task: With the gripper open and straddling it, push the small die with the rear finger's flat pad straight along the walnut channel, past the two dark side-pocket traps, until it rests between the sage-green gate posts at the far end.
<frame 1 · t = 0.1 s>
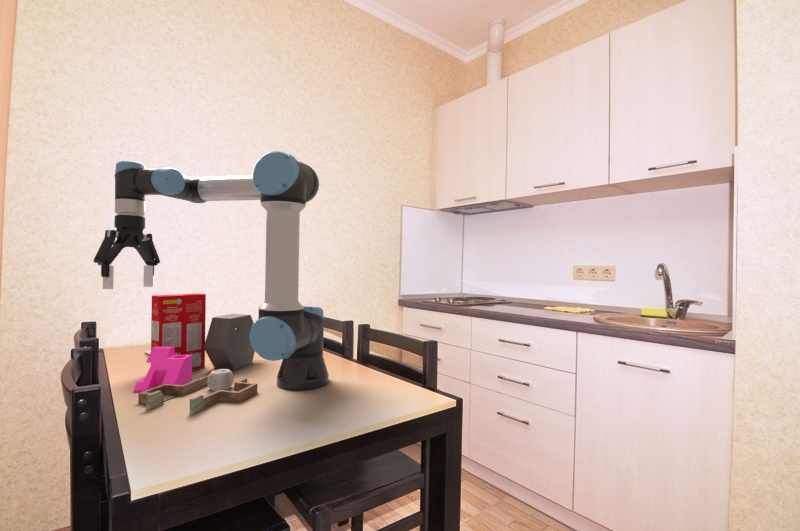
hand: (129, 287, 119), 28 cm above the table, fingers open, 13 cm apart
food packaging: (178, 371, 133), on the table
bracket: (164, 387, 116), on the table
die: (220, 389, 115), on the table
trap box: (201, 397, 107), on the table
planter: (232, 366, 140), on the table
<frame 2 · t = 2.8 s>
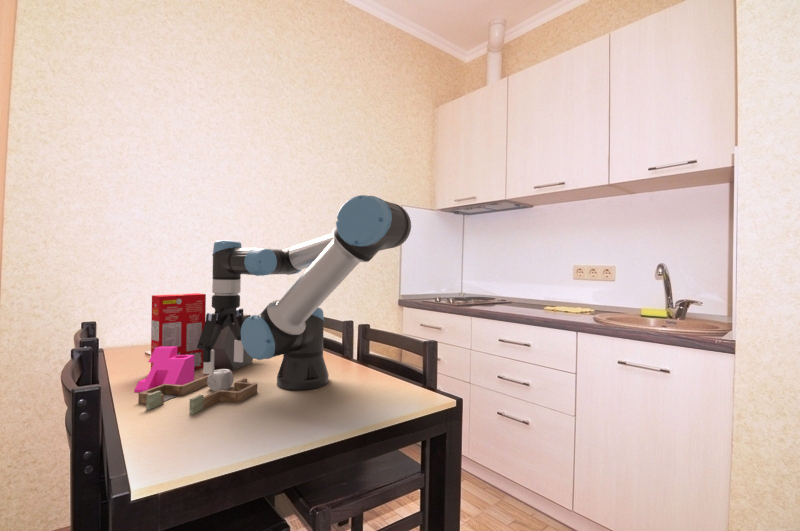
hand: (224, 367, 117), 5 cm above the table, fingers open, 13 cm apart
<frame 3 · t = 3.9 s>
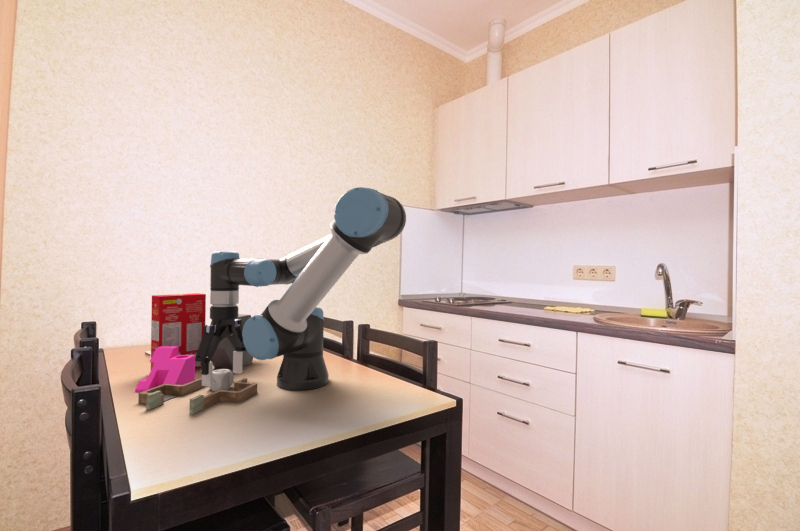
hand: (223, 379, 116), 2 cm above the table, fingers open, 13 cm apart
nothing on the table moved.
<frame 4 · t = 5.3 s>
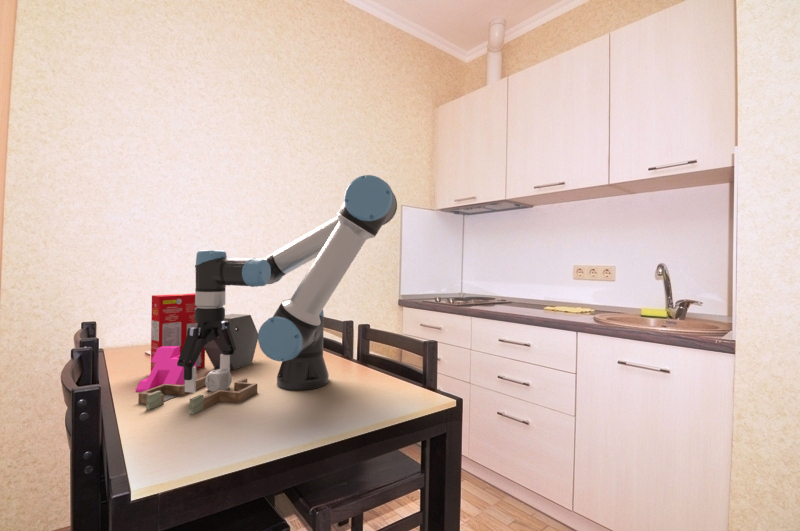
hand: (208, 384, 110), 2 cm above the table, fingers open, 13 cm apart
die: (218, 389, 114), on the table, touching gripper
everything else where it was.
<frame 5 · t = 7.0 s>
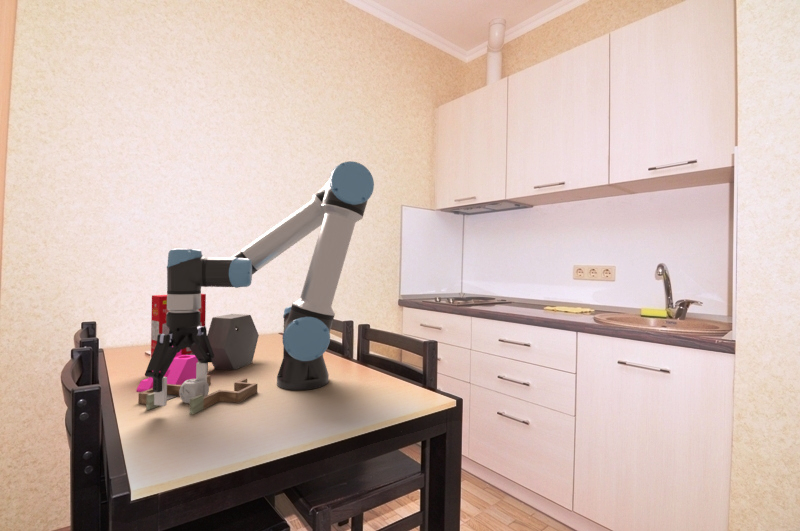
hand: (182, 395, 101), 2 cm above the table, fingers open, 13 cm apart
die: (194, 401, 105), on the table, touching gripper
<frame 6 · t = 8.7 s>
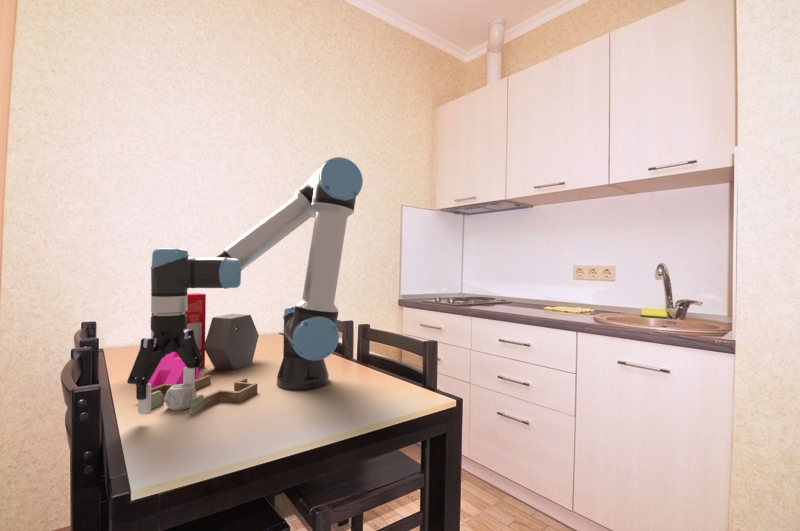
hand: (168, 402, 96), 2 cm above the table, fingers open, 13 cm apart
die: (180, 407, 100), on the table, touching gripper
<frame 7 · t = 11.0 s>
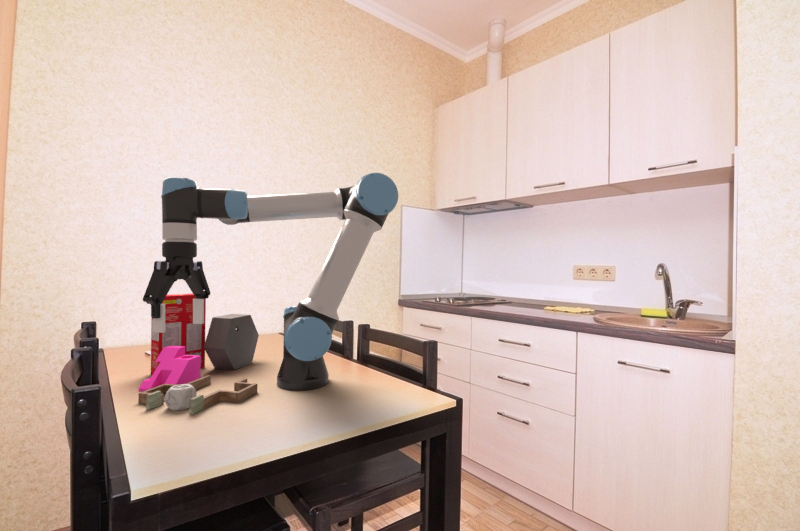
hand: (180, 327, 100), 20 cm above the table, fingers open, 13 cm apart
die: (180, 407, 100), on the table
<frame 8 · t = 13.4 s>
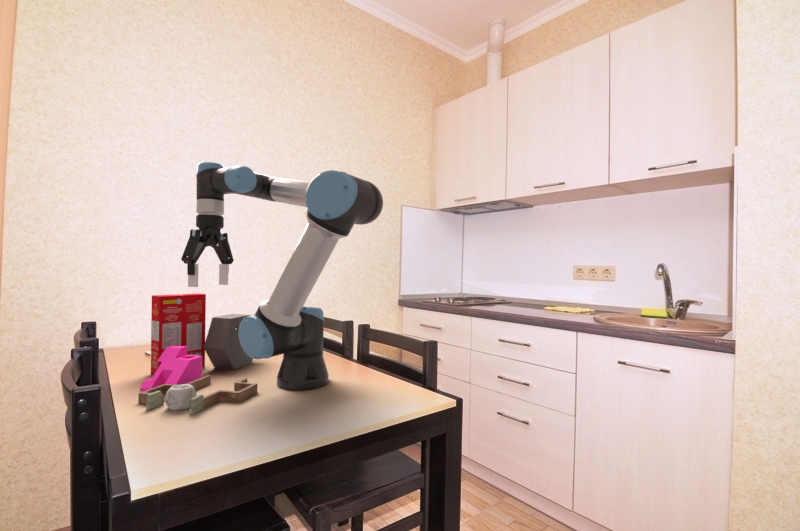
hand: (209, 285, 121), 29 cm above the table, fingers open, 13 cm apart
at the end: die inside the target area (0.6 cm from its centre), on the table; die moved 15.4 cm from its start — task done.
